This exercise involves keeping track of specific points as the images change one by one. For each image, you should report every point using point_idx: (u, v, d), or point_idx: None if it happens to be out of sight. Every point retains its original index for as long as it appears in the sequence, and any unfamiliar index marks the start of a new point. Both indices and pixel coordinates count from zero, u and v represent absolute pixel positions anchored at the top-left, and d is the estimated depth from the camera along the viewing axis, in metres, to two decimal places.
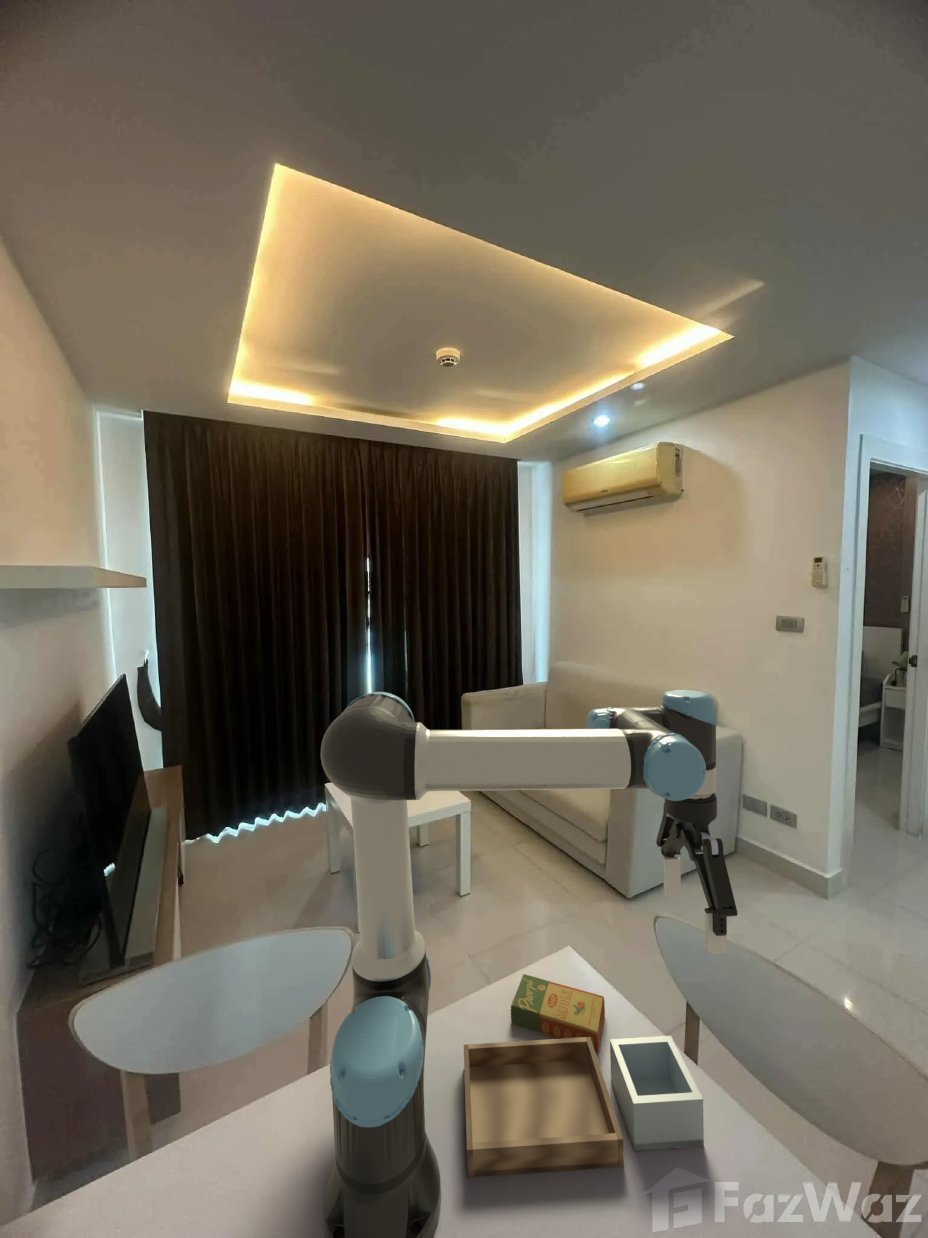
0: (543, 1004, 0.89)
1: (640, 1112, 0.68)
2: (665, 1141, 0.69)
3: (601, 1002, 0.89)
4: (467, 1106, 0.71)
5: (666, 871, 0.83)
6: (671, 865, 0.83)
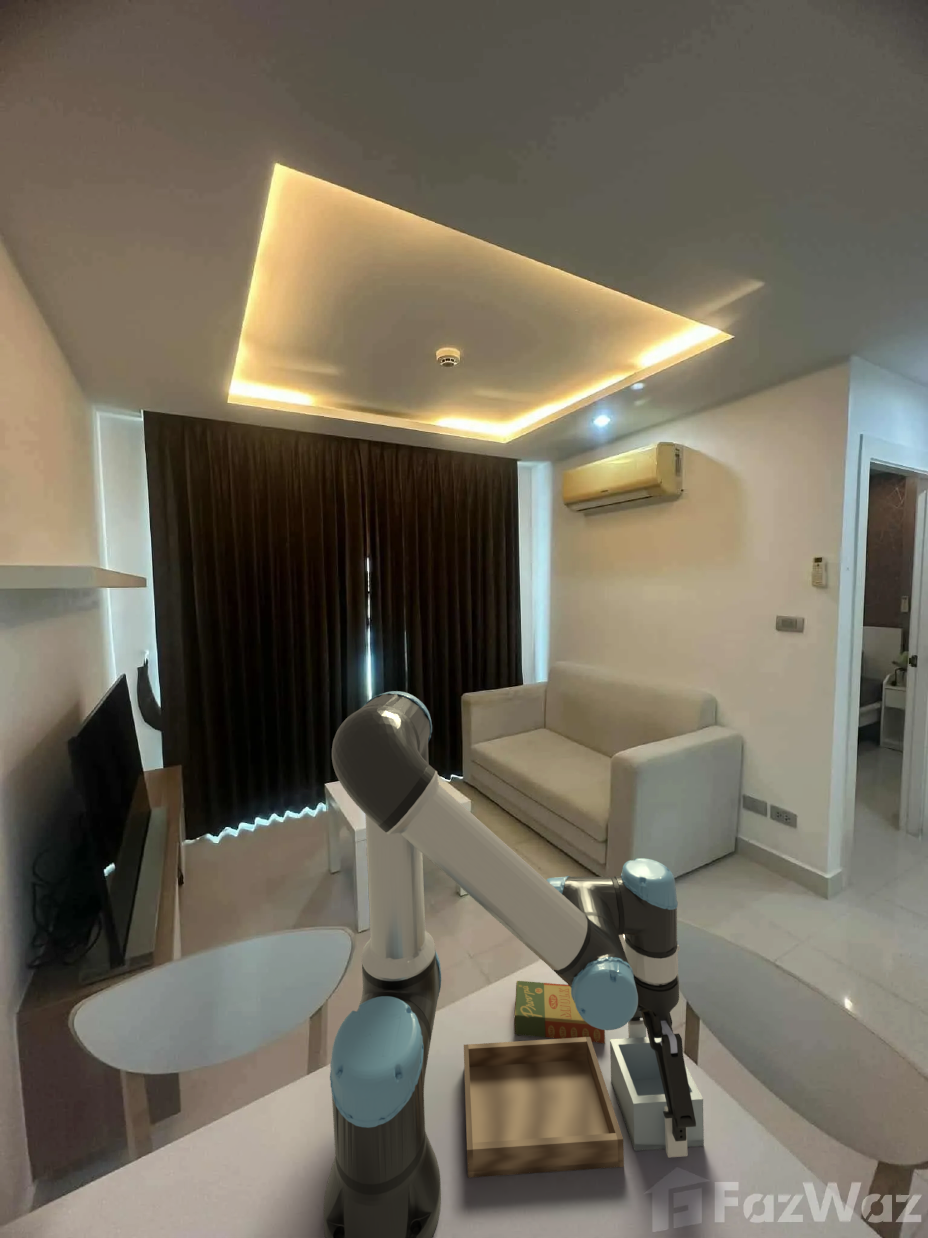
0: (545, 1007, 0.89)
1: (640, 1112, 0.68)
2: (665, 1141, 0.69)
3: None
4: (467, 1106, 0.71)
5: (631, 1037, 0.80)
6: (636, 1031, 0.80)
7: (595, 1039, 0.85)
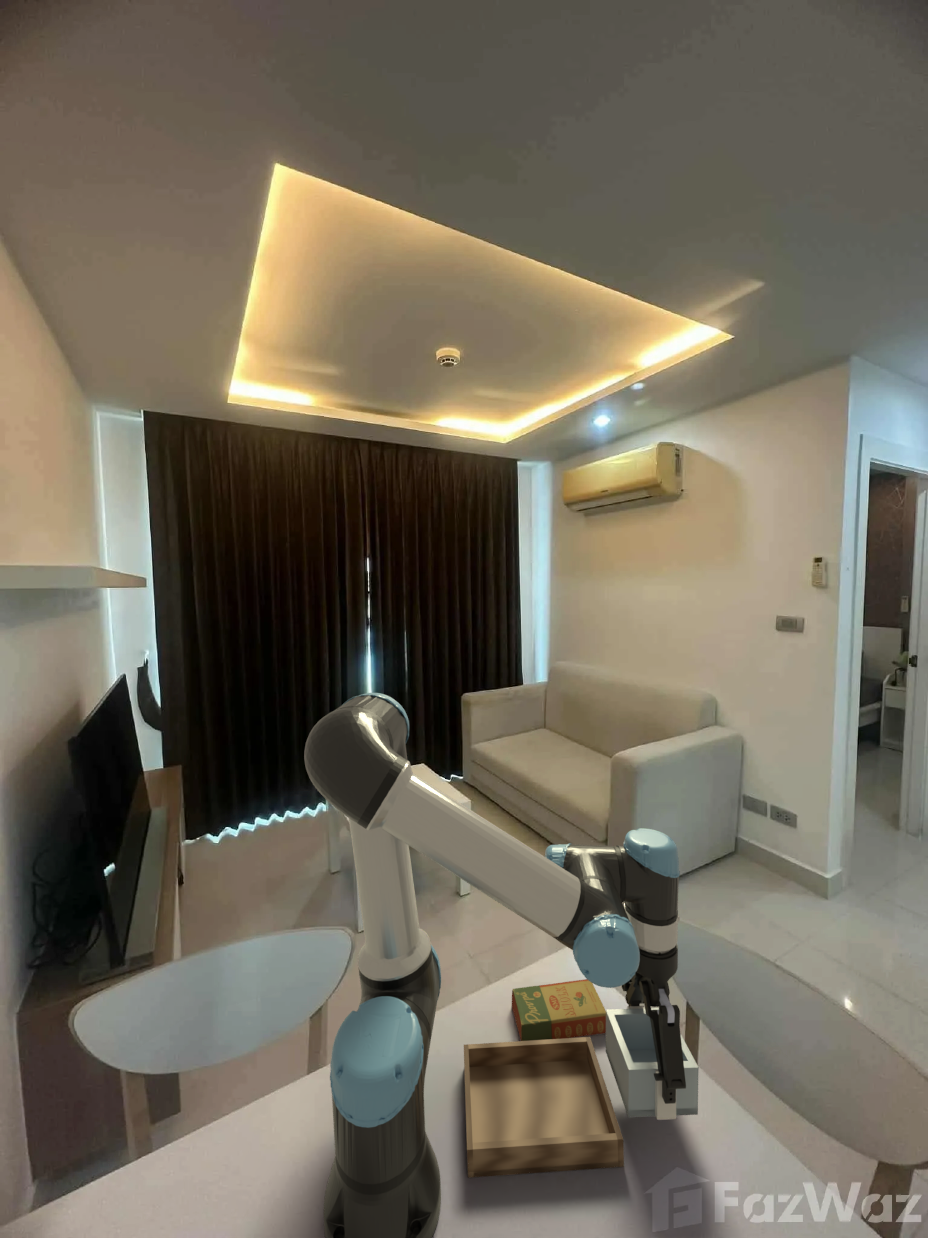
0: (548, 1009, 0.88)
1: (635, 1078, 0.68)
2: None
3: (592, 985, 0.93)
4: (467, 1106, 0.71)
5: None
6: None
7: (598, 1031, 0.87)
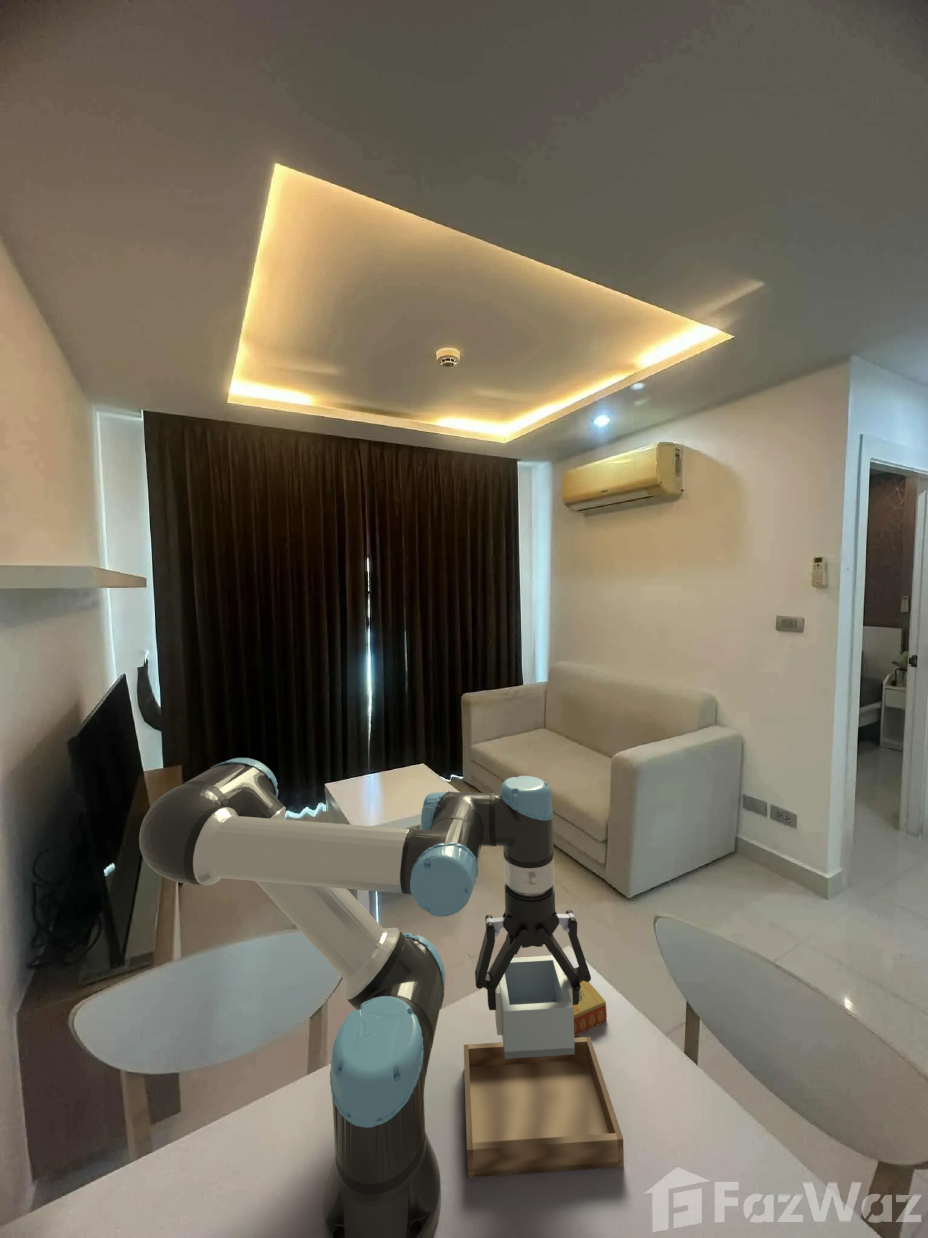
0: None
1: None
2: None
3: None
4: (467, 1106, 0.71)
5: None
6: None
7: (599, 1021, 0.89)
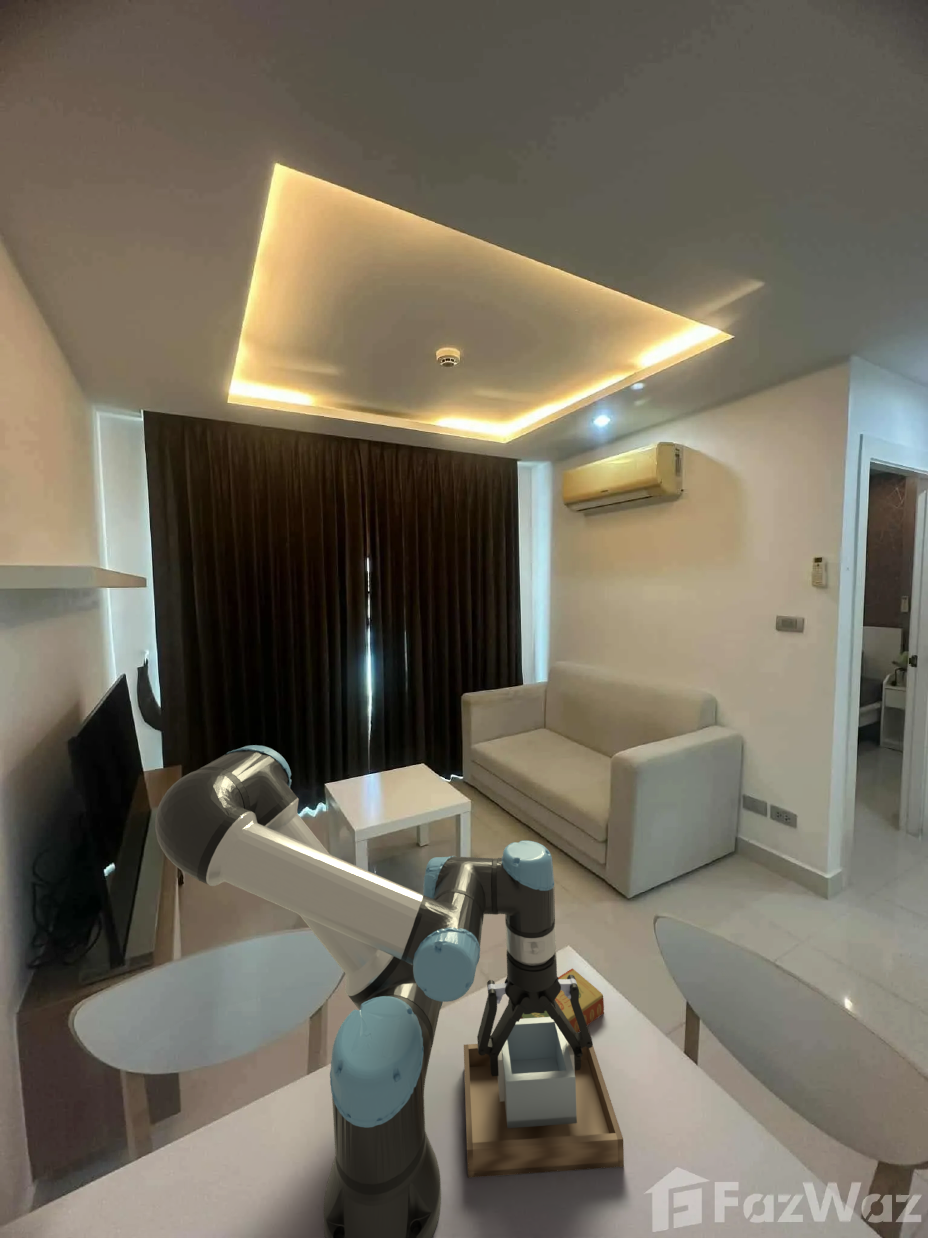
0: None
1: None
2: None
3: (577, 973, 0.96)
4: (467, 1106, 0.71)
5: None
6: None
7: (597, 1014, 0.90)
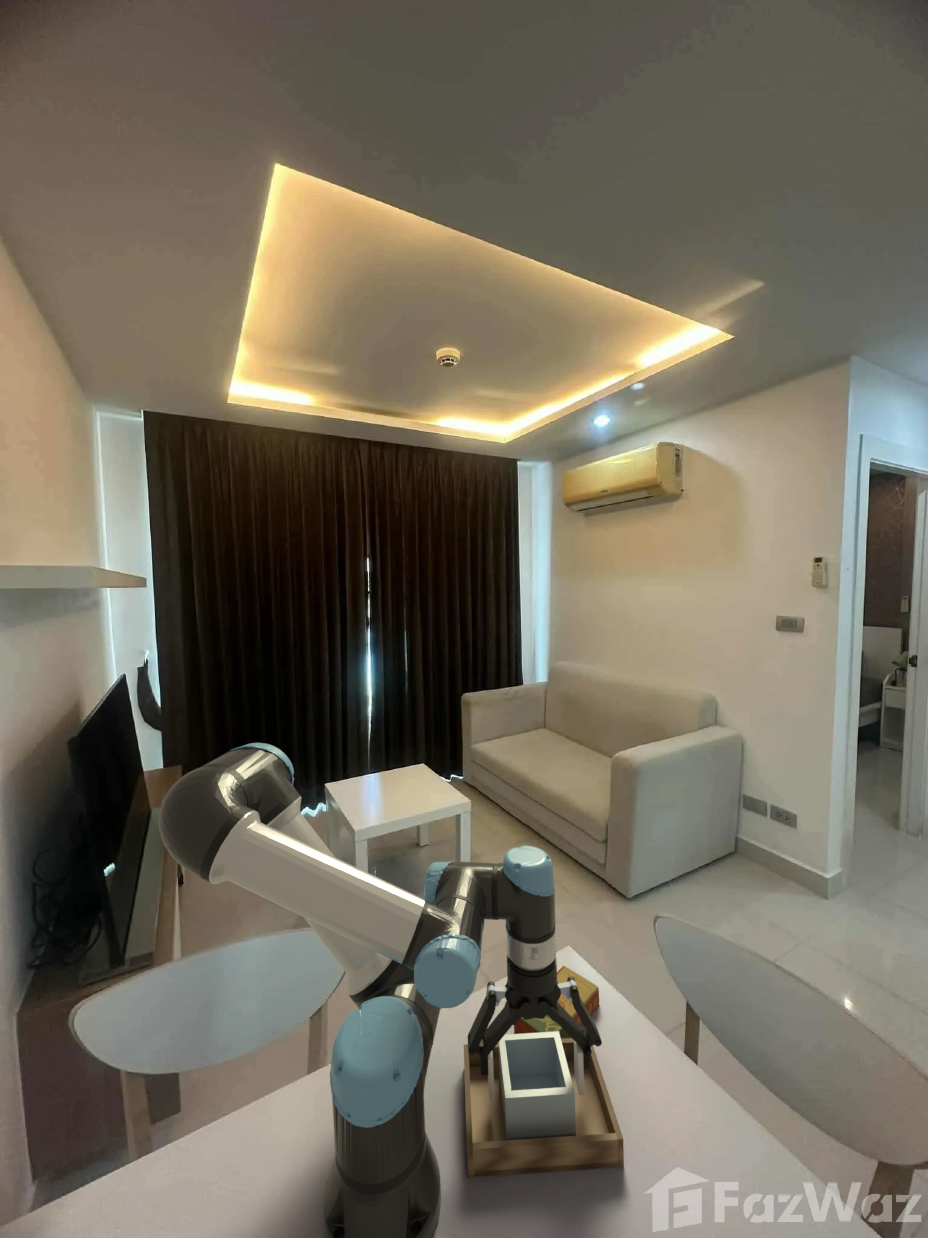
0: None
1: (499, 1049, 0.78)
2: (502, 1098, 0.75)
3: (569, 969, 0.97)
4: (467, 1106, 0.71)
5: (574, 1051, 0.75)
6: (575, 1050, 0.74)
7: (594, 1007, 0.92)
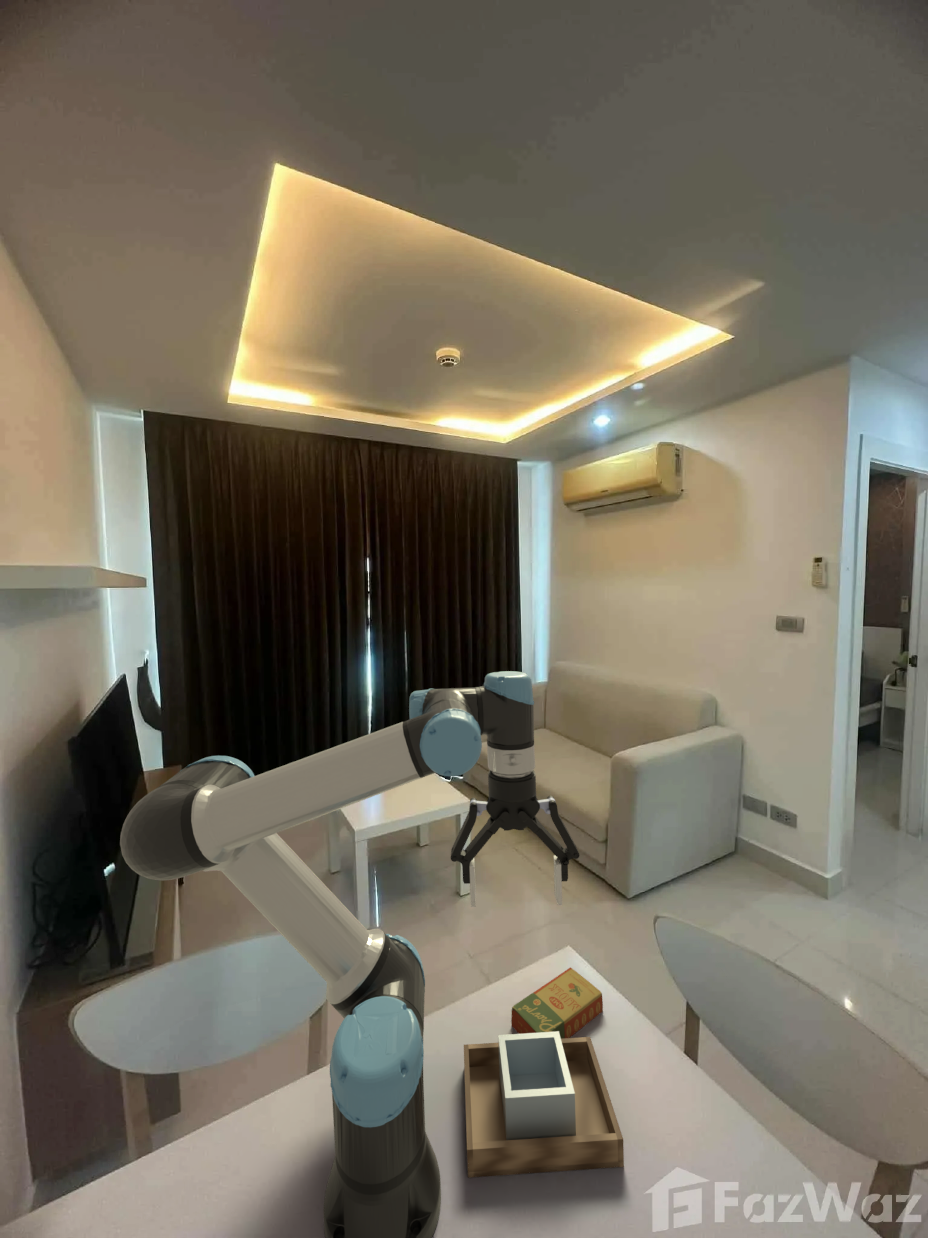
0: (556, 1012, 0.88)
1: (499, 1049, 0.78)
2: (502, 1098, 0.75)
3: (575, 972, 0.97)
4: (467, 1106, 0.71)
5: None
6: (554, 865, 0.77)
7: (597, 1012, 0.91)
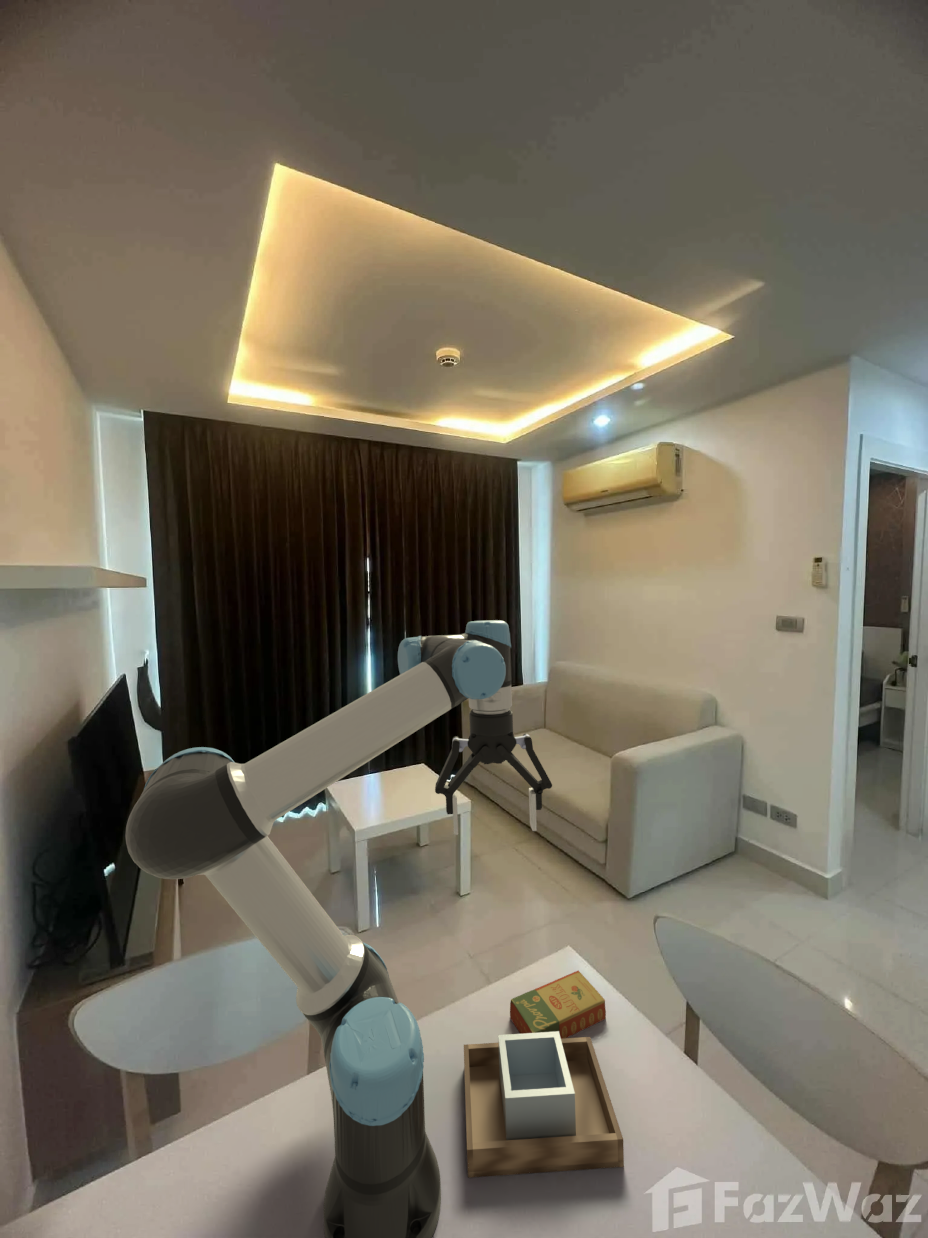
0: (552, 1011, 0.88)
1: (499, 1049, 0.78)
2: (502, 1098, 0.75)
3: (582, 975, 0.96)
4: (467, 1106, 0.71)
5: (529, 799, 0.86)
6: (529, 796, 0.85)
7: (598, 1019, 0.89)
